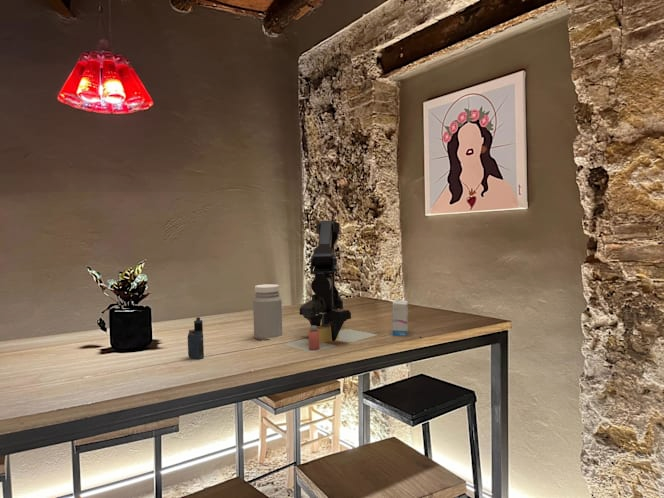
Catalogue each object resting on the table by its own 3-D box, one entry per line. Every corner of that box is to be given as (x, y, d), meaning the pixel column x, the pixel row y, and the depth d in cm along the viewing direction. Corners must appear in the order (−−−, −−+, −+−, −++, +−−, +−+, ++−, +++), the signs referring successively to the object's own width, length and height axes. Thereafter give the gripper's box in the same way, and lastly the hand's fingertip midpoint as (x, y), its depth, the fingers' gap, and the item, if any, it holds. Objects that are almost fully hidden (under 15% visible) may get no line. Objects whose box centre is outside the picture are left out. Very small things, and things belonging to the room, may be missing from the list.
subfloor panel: (280, 347, 151) (280, 344, 151) (347, 331, 172) (347, 329, 172) (311, 355, 141) (311, 352, 141) (378, 337, 162) (378, 334, 161)
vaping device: (199, 360, 138) (197, 318, 138) (186, 357, 141) (185, 317, 141) (205, 357, 141) (204, 317, 140) (193, 355, 143) (192, 315, 143)
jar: (288, 336, 166) (287, 285, 165) (266, 342, 159) (264, 288, 158) (270, 333, 172) (268, 283, 172) (248, 338, 165) (246, 286, 164)
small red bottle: (306, 349, 144) (306, 326, 144) (314, 347, 146) (314, 324, 146) (313, 351, 142) (313, 327, 142) (321, 348, 144) (321, 325, 144)
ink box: (407, 339, 159) (406, 303, 158) (392, 338, 160) (391, 303, 159) (408, 333, 167) (408, 299, 167) (394, 333, 168) (393, 299, 168)
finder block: (312, 341, 154) (311, 326, 154) (330, 337, 160) (329, 322, 159) (320, 343, 151) (320, 328, 151) (338, 338, 157) (338, 324, 157)
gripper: (286, 291, 156) (287, 339, 156) (325, 296, 142) (327, 348, 143) (311, 287, 163) (312, 333, 164) (351, 292, 150) (352, 341, 151)
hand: (325, 339), depth 155 cm, fingers open, 8 cm apart
